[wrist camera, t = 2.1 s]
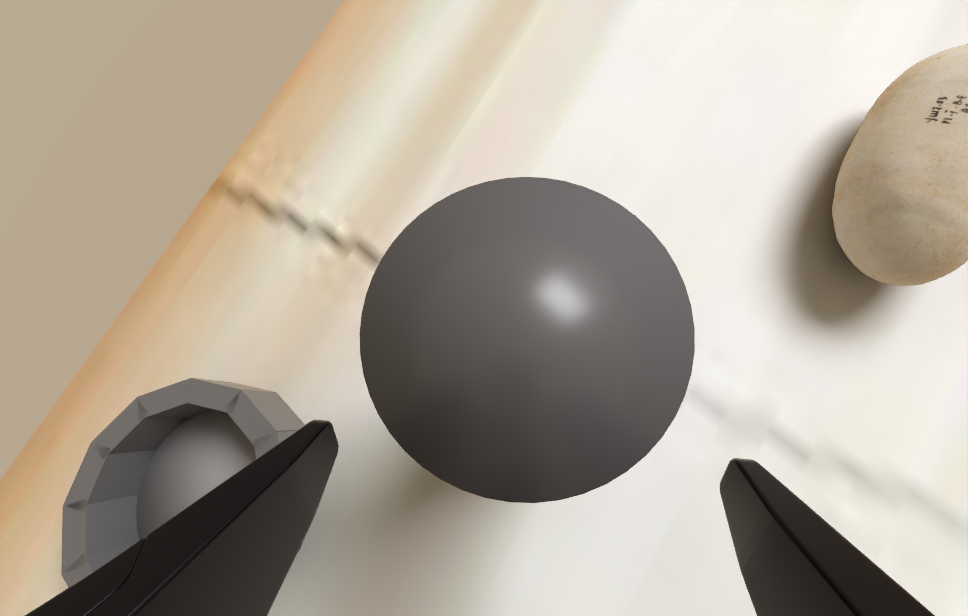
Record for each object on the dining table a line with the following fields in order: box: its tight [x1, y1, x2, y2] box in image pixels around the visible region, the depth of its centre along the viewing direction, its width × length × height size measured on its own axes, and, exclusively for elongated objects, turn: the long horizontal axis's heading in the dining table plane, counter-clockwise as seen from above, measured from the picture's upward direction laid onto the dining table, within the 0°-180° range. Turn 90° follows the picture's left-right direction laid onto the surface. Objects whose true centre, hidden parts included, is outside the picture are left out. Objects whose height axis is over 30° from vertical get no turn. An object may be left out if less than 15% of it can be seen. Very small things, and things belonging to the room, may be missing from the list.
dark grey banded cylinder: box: [360, 177, 694, 503], centre depth 12 cm, size 5×5×13 cm
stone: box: [832, 44, 968, 286], centre depth 17 cm, size 6×6×12 cm
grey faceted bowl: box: [62, 378, 305, 587], centre depth 17 cm, size 10×10×3 cm
